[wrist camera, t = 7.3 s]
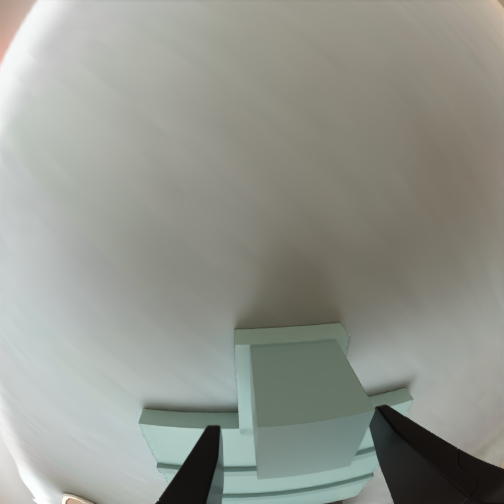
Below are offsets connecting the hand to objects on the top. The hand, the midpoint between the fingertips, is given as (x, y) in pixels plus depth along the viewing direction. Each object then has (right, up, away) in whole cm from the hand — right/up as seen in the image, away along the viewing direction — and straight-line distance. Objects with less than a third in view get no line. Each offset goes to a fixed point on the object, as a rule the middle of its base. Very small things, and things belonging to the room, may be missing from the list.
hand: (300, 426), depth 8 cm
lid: (0, -5, +5) cm, 7 cm away
